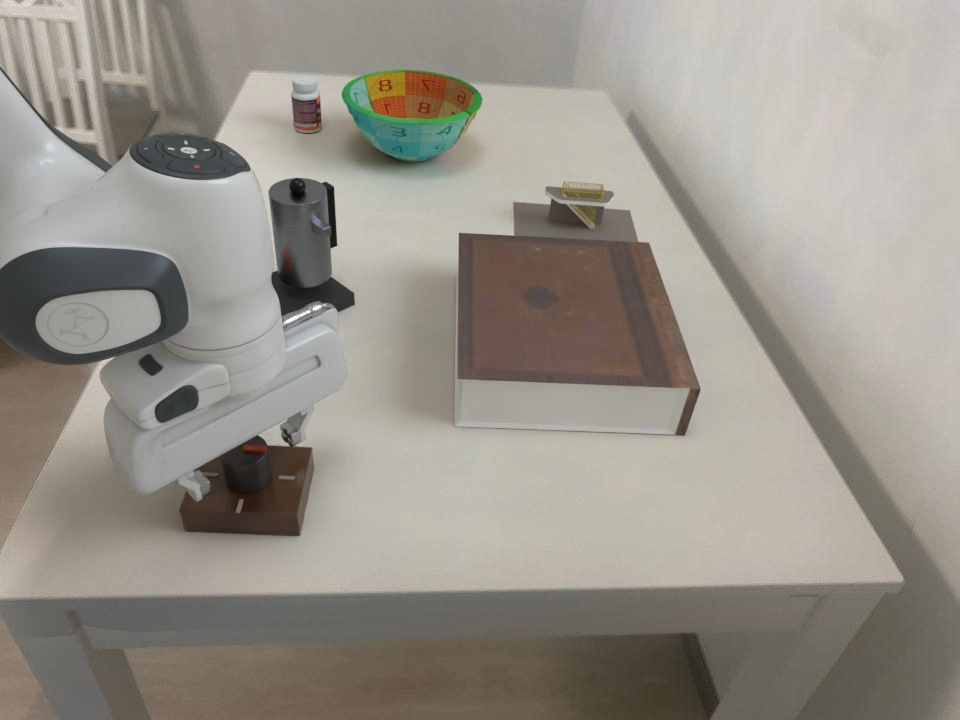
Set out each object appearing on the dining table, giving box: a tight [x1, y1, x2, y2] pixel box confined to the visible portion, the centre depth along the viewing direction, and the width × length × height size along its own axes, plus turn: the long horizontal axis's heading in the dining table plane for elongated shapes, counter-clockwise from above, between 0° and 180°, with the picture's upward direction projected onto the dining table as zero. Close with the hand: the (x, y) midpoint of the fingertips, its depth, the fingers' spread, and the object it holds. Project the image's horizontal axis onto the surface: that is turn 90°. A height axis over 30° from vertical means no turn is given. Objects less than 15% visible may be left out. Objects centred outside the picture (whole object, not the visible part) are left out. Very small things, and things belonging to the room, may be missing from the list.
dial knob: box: [220, 435, 272, 493], centre depth 68 cm, size 4×4×4 cm
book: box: [453, 232, 702, 436], centre depth 89 cm, size 24×28×6 cm
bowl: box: [341, 69, 483, 163], centre depth 126 cm, size 22×22×10 cm
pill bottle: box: [290, 75, 323, 134], centre depth 131 cm, size 5×5×8 cm
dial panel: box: [178, 444, 315, 537], centre depth 70 cm, size 10×8×3 cm
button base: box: [271, 270, 356, 316], centre depth 92 cm, size 15×10×4 cm
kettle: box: [268, 177, 338, 288], centre depth 89 cm, size 8×8×12 cm
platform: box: [513, 180, 639, 242], centre depth 112 cm, size 12×18×7 cm, turn 89°
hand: (248, 465), depth 68 cm, fingers open, 8 cm apart
